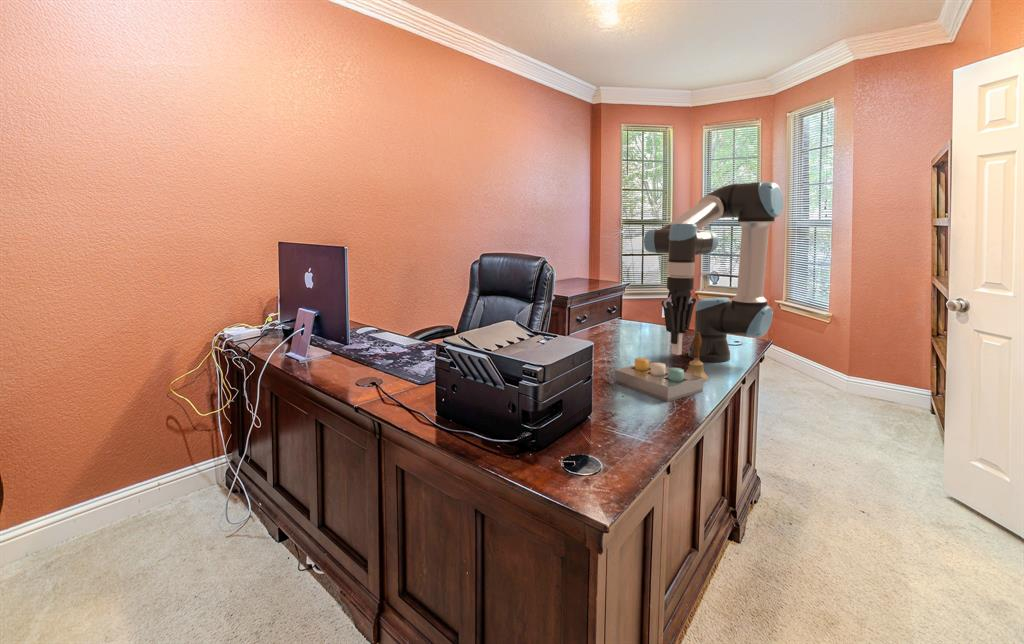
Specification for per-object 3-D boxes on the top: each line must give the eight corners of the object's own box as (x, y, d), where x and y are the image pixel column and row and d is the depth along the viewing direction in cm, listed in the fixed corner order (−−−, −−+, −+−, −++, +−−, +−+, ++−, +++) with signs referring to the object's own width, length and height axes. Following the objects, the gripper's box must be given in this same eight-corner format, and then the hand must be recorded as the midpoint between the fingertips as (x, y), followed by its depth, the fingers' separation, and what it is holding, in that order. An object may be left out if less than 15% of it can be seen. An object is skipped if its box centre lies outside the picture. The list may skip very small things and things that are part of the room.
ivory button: (657, 375, 165) (657, 361, 165) (668, 378, 162) (668, 365, 161) (647, 377, 163) (647, 364, 162) (658, 381, 159) (658, 367, 158)
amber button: (641, 370, 171) (641, 357, 170) (651, 373, 167) (652, 360, 166) (631, 372, 169) (631, 359, 168) (641, 375, 165) (642, 362, 164)
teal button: (674, 380, 160) (675, 366, 159) (686, 384, 156) (687, 370, 155) (664, 383, 157) (664, 369, 156) (676, 387, 153) (677, 372, 152)
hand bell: (710, 382, 167) (713, 335, 164) (684, 381, 169) (686, 334, 166) (706, 374, 175) (709, 329, 172) (680, 373, 177) (683, 329, 174)
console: (648, 374, 176) (649, 362, 175) (702, 391, 158) (703, 377, 157) (614, 382, 168) (615, 369, 167) (667, 402, 150) (668, 387, 149)
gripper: (684, 274, 157) (680, 348, 161) (655, 276, 150) (651, 354, 154) (705, 276, 150) (700, 353, 155) (675, 278, 143) (671, 359, 148)
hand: (676, 353), depth 155 cm, fingers closed
